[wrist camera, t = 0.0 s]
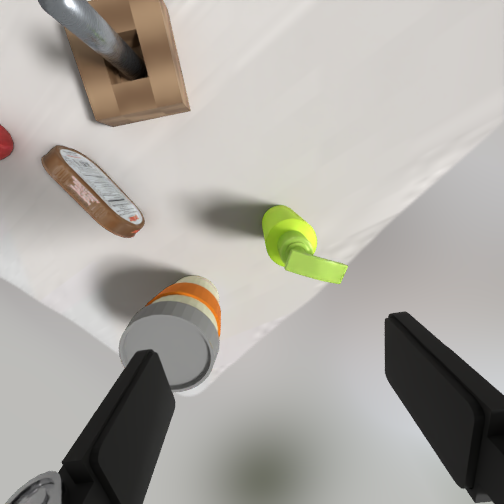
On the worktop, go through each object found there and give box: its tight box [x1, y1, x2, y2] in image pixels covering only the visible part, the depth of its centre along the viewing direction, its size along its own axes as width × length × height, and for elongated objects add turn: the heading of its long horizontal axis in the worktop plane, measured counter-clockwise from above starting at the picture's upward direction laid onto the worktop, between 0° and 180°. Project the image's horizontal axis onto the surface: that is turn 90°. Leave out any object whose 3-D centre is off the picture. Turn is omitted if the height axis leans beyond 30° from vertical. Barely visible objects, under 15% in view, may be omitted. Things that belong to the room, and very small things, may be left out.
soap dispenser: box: [262, 205, 348, 284], centre depth 30 cm, size 6×7×20 cm
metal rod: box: [38, 0, 147, 81], centre depth 26 cm, size 3×3×14 cm
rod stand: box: [64, 0, 190, 127], centre depth 31 cm, size 12×12×4 cm
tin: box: [41, 145, 145, 238], centre depth 34 cm, size 15×3×8 cm, turn 39°
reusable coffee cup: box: [119, 276, 221, 392], centre depth 37 cm, size 13×12×15 cm
